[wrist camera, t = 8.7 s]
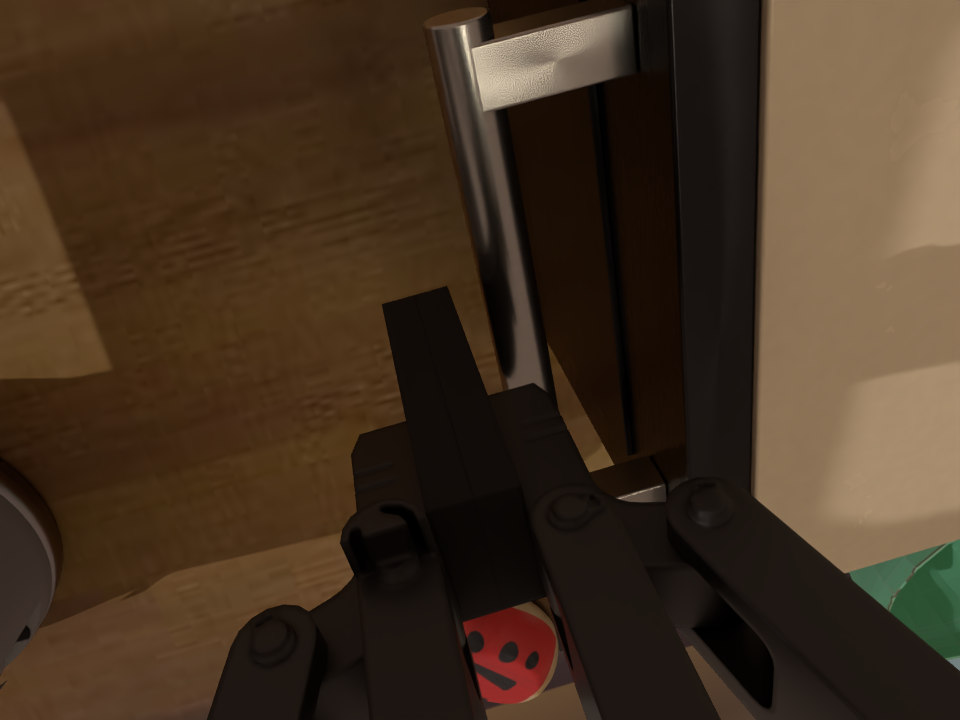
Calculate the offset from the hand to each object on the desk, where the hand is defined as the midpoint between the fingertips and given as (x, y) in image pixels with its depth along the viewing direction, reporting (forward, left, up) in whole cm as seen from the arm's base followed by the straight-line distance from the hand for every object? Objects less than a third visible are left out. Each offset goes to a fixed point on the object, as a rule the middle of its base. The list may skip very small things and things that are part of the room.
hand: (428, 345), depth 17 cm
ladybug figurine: (-1, -27, -13) cm, 30 cm away
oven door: (+4, 0, -12) cm, 13 cm away
